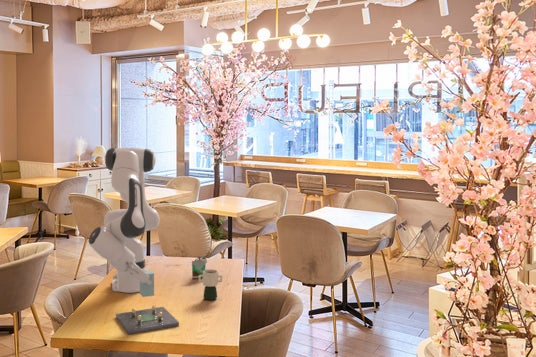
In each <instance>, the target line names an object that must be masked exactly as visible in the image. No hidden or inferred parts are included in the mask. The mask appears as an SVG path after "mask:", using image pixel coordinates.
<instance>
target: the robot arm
mask: <svg viewBox="0 0 536 357" xmlns="http://www.w3.org/2000/svg"><path fill="white" fill-rule="evenodd" d="M156 161H157V160H156V155H155V152H154V151H153V150H152V149H149V148H140V147H110V148H109V149H107V150H106V153H105V155H104V164H105V167H106V169H108V170H109V171H111V172H112V173H111V178H110V179H111V180H110V182H111V187H112V188H113V190H114V191H116V192H117V193H118V194H120V195H119V196H120V199H122V200H123V201H124V202H125V203H126V204H127V206H126V207H127V208H117V209H113V210H108V211H107V212H106V214H105V215H104V219H103V225H102V226H97V227H95V228H94V230H93V231H92V232H91V233H90V235H89V237H88V243H89V246H90V247H91V249H93V250H94V252H96V253H97V255H99V256H100V257H101V258H102V259H105V260H106V261H107V262H108V263H109V265H111V266H112V268H114V269H115V270H117V271H116V274H112V278H113V280H111V289H112V290H111V291H112V292H120V293H127V294H128V293H133V294H134V293H140V282H142V283H145V282H146V283H147V284H148V285H151V283H152V281H151V280H150V279H149V275H148V274H146V273H145V272H144V271H149V270H148V269H147V268H146V259H145V245H144V242H143V241H142V240H140V239H138V238H137V237H140V236H142V235H143V234H144V232H148V231H149V232H150V231H153V230H156V229H157V228H158V227H159V225H160V221H161V218H160V215H159V214H160V213H159V212H158V211H157V209H155V208H153V207H152V206H151V205H150V204H149V203H148V201H147V198H146V193H145V190H146V188H145V180H146V179H145V178H146V177H145V173H149V172H151V171H153V170H154V168H155V165H156Z"/></svg>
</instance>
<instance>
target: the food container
mask: <svg viewBox="0 0 536 357" xmlns="http://www.w3.org/2000/svg"><path fill="white" fill-rule="evenodd" d="M207 263H208V260H207V257H206V256H203V255H198V257H197V258H195V259H194V260H192V261H191V270H192V272H191V273H192V280H199V275H203V271H204V270H206V265H207ZM201 280H203V277H201Z"/></svg>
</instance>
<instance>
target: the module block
mask: <svg viewBox="0 0 536 357" xmlns="http://www.w3.org/2000/svg"><path fill="white" fill-rule="evenodd" d="M144 272H145V273H146V274H148V275H149V279H150V280H151V281H152V283H151V285H148V284H147V283H146V282H145V283H142V282H140V292H139V295H140V296H142V298H144V297H152V296H155V273H154V272H153V271H152V270H148V271H144Z"/></svg>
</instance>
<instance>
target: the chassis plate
mask: <svg viewBox="0 0 536 357" xmlns="http://www.w3.org/2000/svg"><path fill="white" fill-rule="evenodd" d="M115 319H116V320H117V321H118V322H119V324H120V325H121V327H122V328H123V329H124V330H125V332H126V333H127V335H129V336H130V335H135V334H140V333H145V332H151V331H157V330H162V329H168V328H174V327H179V326H180V322H179V320H177V319H176V318H175V317H174V316H173V315H172V314H171V313H170V312H169V311H168V310H167V309H166V308H165V307H164V306H160V307H157V306H156V305H152V306H151V308H147V309H140V310H139V309H138V310H136V308H132V309H131V311H126V312H119V313H115Z"/></svg>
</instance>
